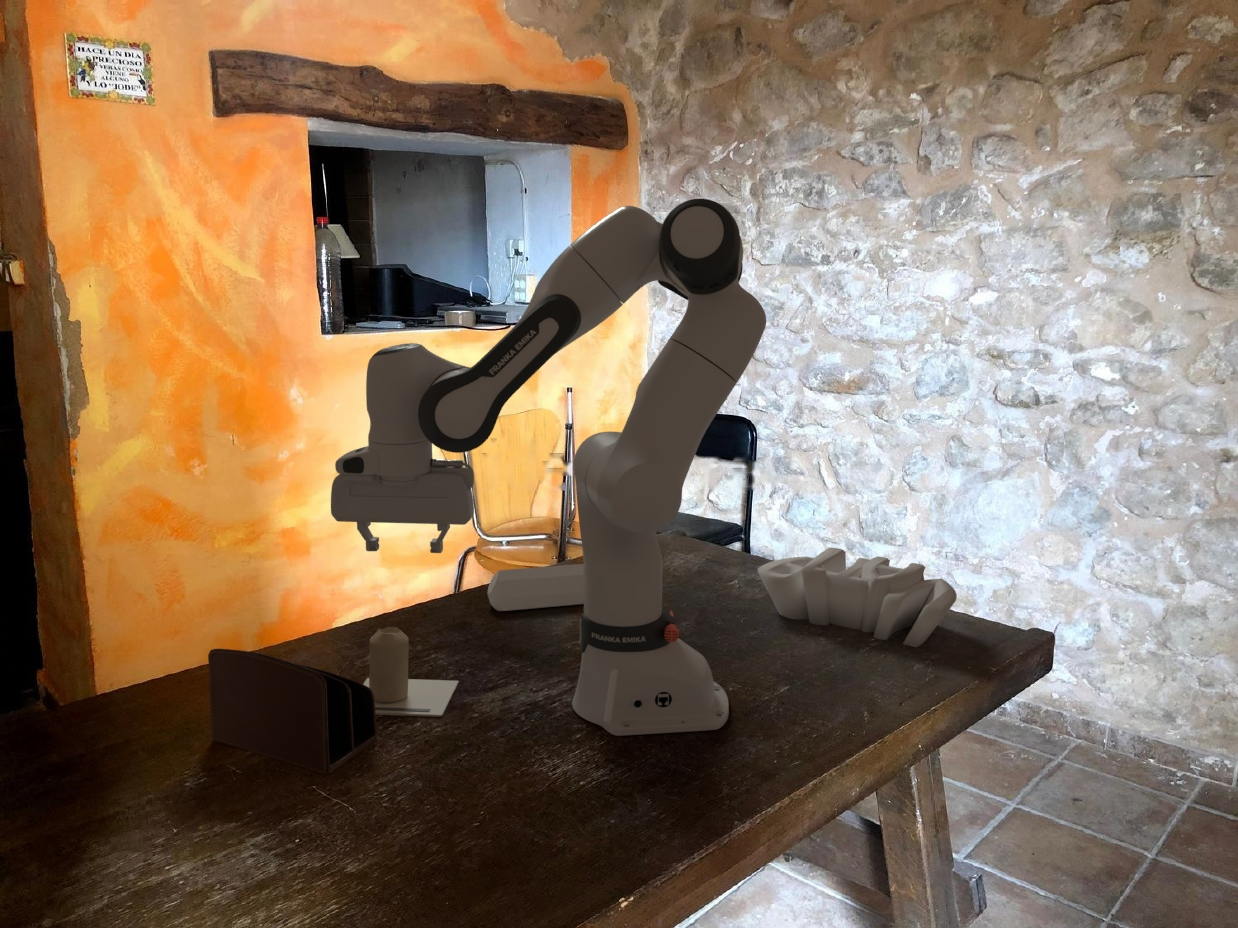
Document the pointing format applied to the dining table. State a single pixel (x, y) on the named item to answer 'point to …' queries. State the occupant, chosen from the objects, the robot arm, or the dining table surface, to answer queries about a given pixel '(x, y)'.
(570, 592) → the grey chamfered bar
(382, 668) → the candle
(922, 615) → the wavy white extrusion
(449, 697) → the white rectangular plate
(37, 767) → the dining table surface
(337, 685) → the letter holder
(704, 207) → the robot arm
